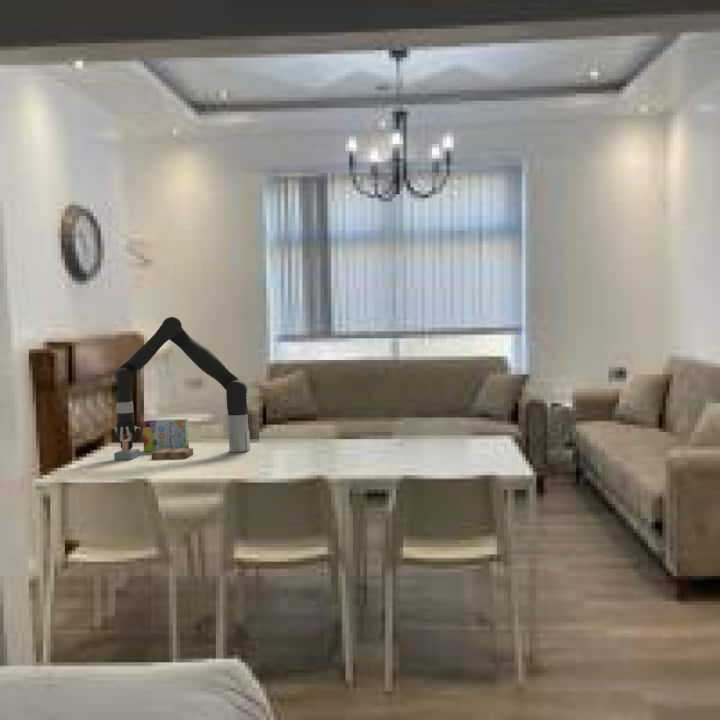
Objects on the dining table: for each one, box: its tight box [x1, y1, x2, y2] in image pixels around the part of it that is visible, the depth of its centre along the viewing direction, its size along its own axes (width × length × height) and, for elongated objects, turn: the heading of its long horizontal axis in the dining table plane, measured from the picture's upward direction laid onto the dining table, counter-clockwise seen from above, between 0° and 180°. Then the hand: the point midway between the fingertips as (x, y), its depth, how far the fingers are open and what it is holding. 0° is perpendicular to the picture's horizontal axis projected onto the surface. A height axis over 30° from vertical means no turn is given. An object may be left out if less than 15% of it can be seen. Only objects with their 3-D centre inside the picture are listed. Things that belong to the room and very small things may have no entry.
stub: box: [113, 439, 141, 461], centre depth 422 cm, size 8×12×8 cm, turn 176°
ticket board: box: [151, 447, 194, 460], centre depth 420 cm, size 16×12×3 cm
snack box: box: [142, 418, 190, 452], centre depth 442 cm, size 21×6×15 cm, turn 84°
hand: (126, 449), depth 422 cm, fingers closed on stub, 2 cm apart
